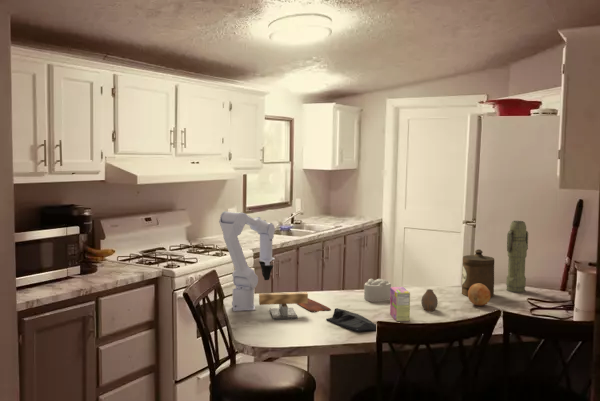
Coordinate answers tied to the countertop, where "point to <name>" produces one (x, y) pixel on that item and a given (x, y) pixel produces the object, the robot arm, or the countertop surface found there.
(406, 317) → the box
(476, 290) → the orange fruit
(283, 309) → the stand
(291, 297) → the oak bar
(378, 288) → the lumpy-topped squat cylinder
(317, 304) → the wooden tablet
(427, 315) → the countertop surface
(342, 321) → the dark slate chunk
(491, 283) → the wooden container
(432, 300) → the vase
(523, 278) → the green totem statue
